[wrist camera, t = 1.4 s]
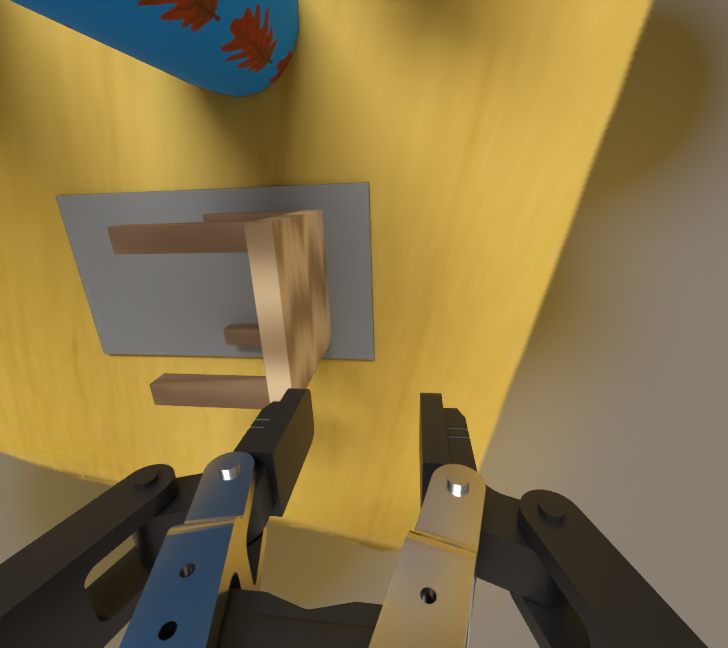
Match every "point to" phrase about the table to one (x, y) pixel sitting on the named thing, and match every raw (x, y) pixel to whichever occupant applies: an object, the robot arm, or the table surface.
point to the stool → (272, 298)
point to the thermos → (190, 36)
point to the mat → (213, 270)
